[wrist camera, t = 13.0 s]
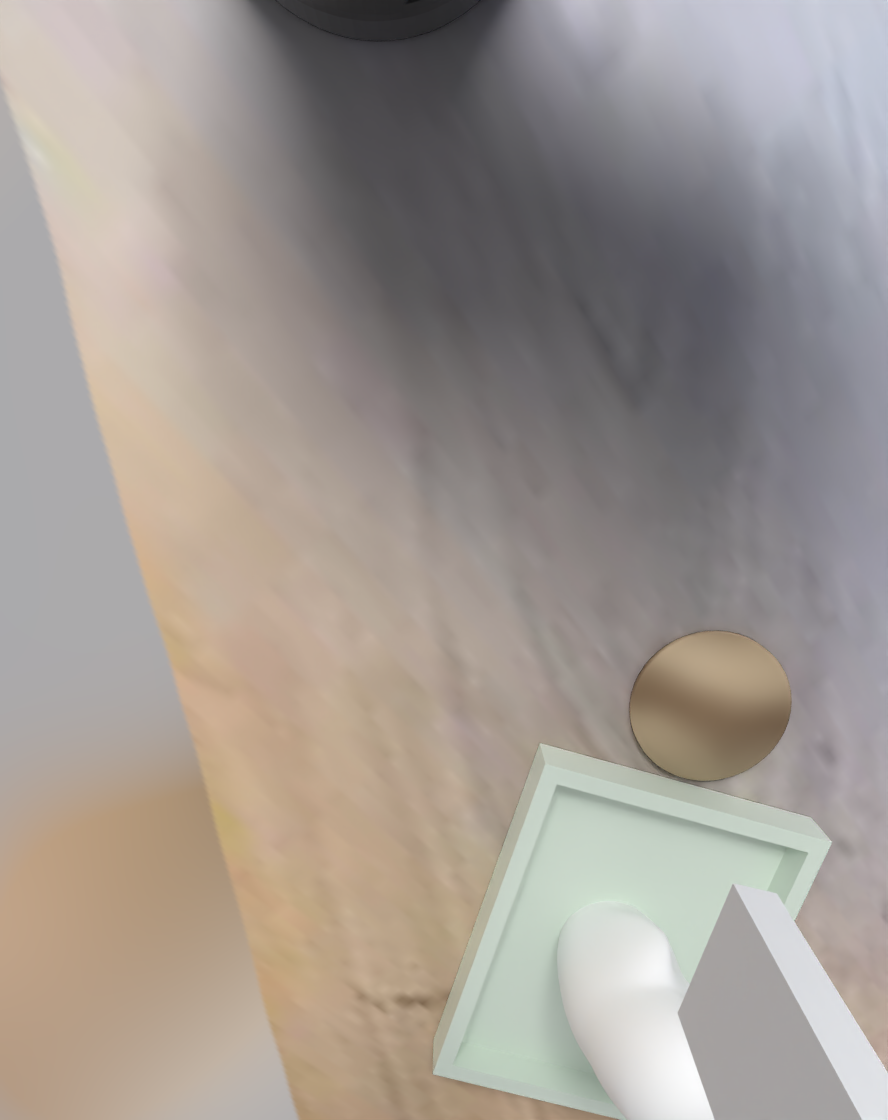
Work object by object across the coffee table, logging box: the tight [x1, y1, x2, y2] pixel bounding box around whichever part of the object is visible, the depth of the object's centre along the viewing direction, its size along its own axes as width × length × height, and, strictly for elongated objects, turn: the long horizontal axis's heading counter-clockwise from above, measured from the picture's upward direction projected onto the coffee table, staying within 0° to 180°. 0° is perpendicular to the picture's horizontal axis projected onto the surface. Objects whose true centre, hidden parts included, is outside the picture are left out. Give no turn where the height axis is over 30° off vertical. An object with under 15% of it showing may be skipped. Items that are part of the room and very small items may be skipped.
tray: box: [433, 743, 832, 1120], centre depth 43 cm, size 22×17×2 cm
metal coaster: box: [630, 631, 791, 781], centre depth 41 cm, size 9×9×1 cm
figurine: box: [557, 901, 715, 1120], centre depth 38 cm, size 7×8×12 cm
